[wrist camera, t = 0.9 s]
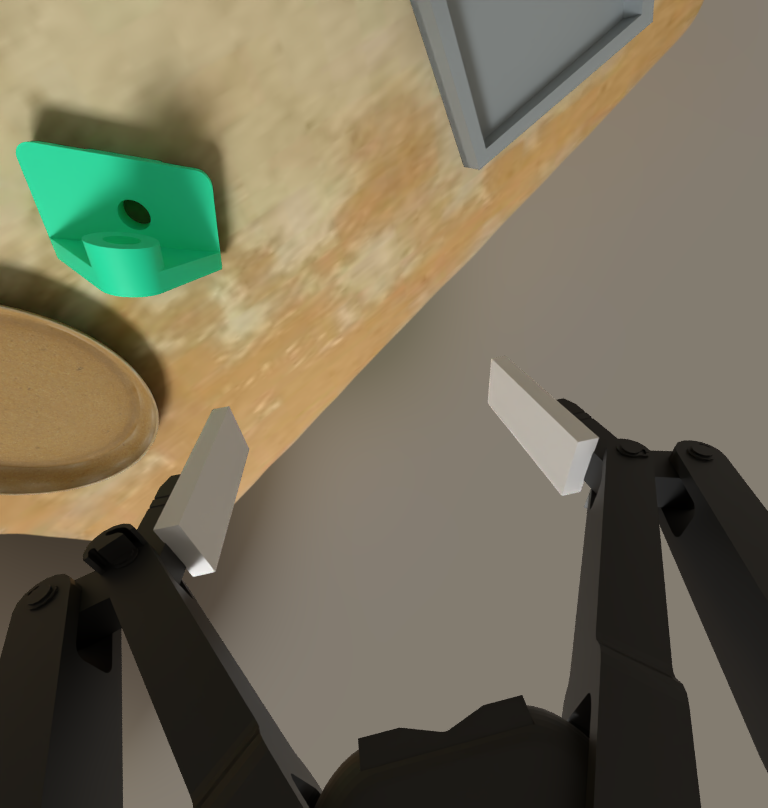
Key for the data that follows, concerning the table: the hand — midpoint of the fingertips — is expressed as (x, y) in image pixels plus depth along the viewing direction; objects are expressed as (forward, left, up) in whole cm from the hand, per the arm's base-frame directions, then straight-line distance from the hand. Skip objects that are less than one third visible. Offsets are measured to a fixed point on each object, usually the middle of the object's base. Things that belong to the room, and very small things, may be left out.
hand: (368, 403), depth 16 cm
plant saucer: (-7, -31, -26) cm, 41 cm away
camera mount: (-11, -7, -26) cm, 29 cm away
